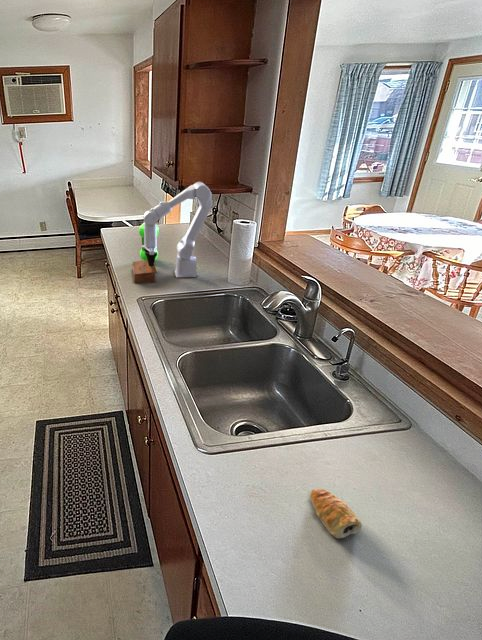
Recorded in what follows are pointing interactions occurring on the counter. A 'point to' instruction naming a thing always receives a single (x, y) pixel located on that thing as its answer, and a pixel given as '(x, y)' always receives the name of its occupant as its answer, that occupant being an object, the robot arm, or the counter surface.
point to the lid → (143, 268)
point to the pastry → (334, 514)
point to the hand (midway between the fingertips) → (150, 263)
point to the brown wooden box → (144, 278)
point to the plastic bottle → (141, 231)
